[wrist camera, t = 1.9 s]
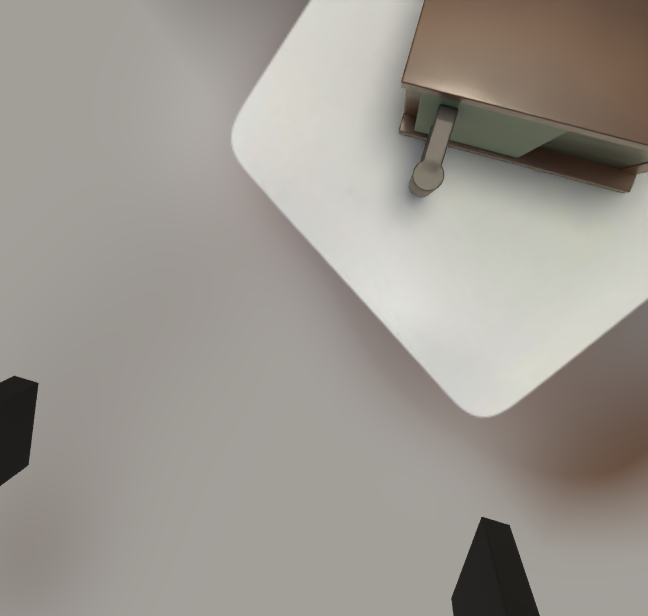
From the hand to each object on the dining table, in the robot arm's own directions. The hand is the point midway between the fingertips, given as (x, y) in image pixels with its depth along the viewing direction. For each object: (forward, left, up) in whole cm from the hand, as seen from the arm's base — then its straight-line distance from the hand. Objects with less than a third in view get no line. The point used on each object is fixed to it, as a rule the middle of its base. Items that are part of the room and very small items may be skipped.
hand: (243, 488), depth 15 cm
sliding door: (-12, +7, -24) cm, 28 cm away
